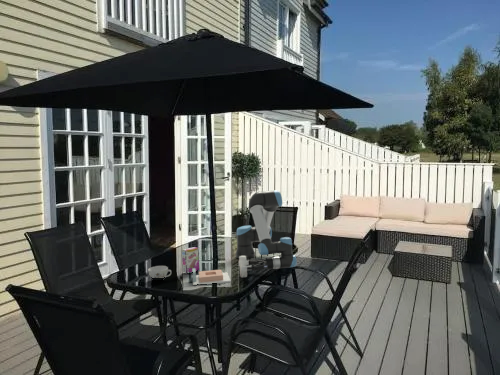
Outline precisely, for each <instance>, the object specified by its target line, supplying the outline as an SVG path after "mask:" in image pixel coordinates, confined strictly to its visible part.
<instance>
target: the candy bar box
mask: <svg viewBox="0 0 500 375" xmlns="http://www.w3.org/2000/svg"><path fill="white" fill-rule="evenodd" d="M199 254H200V252H199V247H196V246H194V247H193V246H192V247H189V248H184V249H181V265H182V273H183V272H185V273H188V272H192V268H195V269H196V271H197V270H199V271H200V257H199V256H200V255H199ZM197 272H198V271H197Z"/></svg>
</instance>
